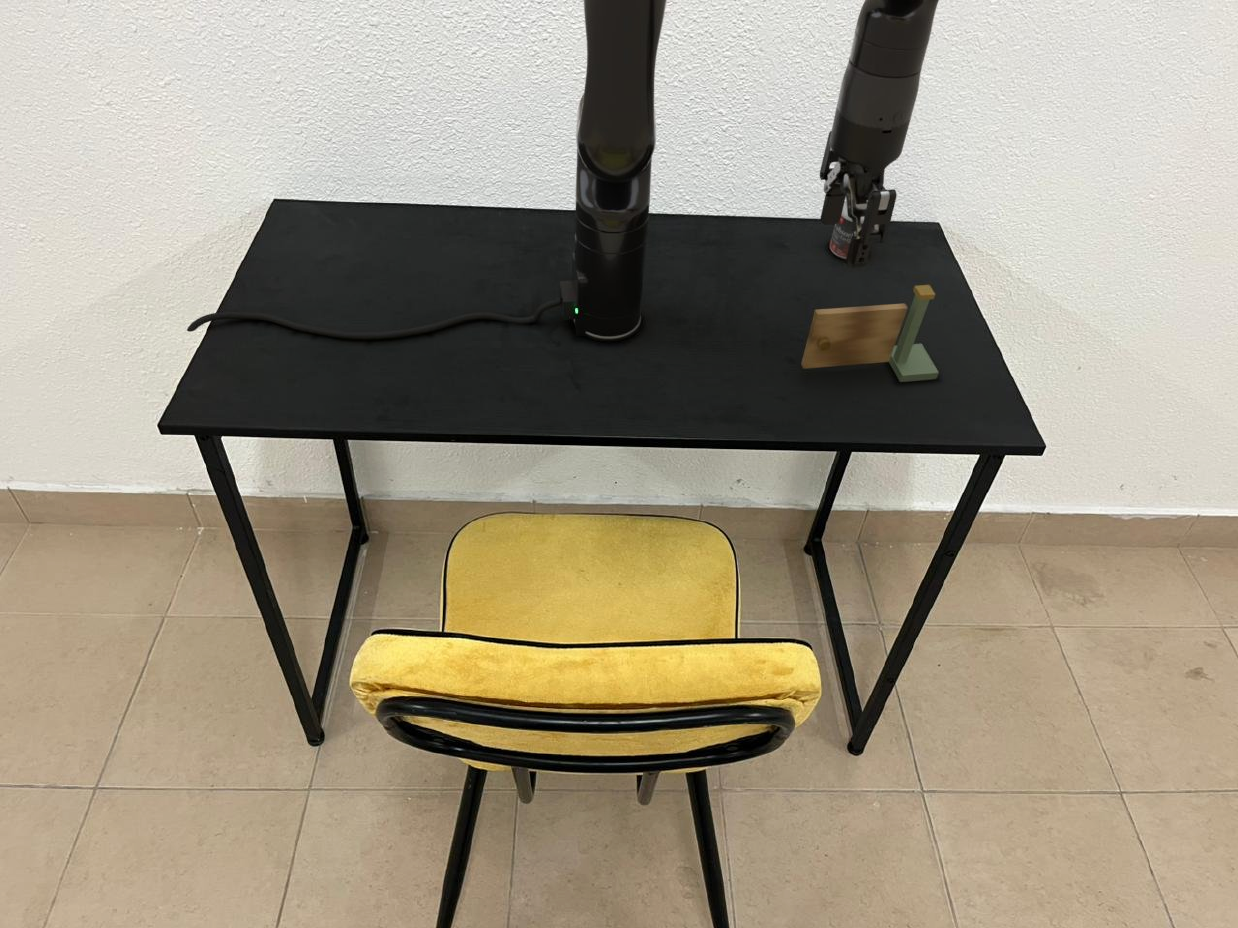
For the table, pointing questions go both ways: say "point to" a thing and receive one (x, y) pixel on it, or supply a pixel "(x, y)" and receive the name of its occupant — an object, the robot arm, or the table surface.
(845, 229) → the pill bottle
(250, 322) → the table surface
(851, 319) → the door
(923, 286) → the door frame
